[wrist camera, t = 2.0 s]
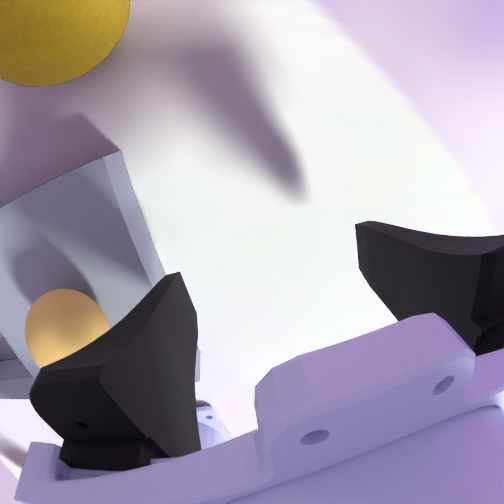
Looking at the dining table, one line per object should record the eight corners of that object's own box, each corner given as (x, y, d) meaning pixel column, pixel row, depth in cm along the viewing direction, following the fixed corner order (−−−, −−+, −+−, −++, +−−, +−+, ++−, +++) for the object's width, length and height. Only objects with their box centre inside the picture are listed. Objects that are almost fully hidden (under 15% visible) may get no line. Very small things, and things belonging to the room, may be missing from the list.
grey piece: (200, 351, 17) (199, 409, 13) (-5, 379, 17) (-23, 414, 13) (120, 150, 12) (81, 165, 8) (-76, 260, 12) (-108, 287, 8)
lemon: (29, 81, 10) (-88, 79, 3) (74, -16, 8) (-10, -78, 1) (118, 104, 11) (13, 95, 4) (169, -1, 10) (129, -102, 2)
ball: (133, 334, 14) (116, 397, 10) (71, 346, 14) (46, 401, 10) (96, 262, 12) (59, 316, 8) (33, 283, 12) (-7, 332, 8)
